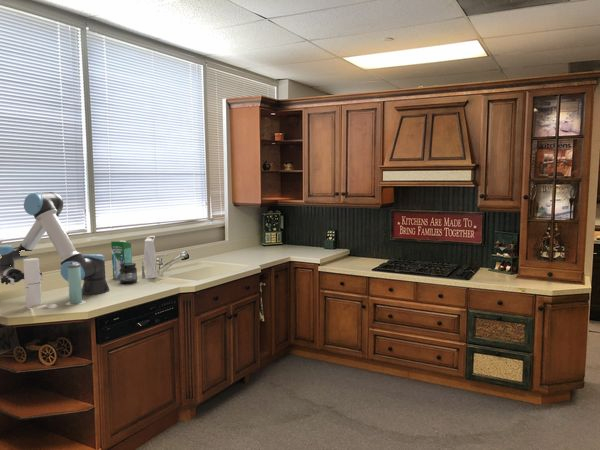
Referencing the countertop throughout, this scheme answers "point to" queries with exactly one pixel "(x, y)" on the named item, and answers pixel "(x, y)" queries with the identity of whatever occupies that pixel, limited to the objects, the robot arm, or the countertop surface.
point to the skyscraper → (149, 259)
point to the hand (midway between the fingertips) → (27, 279)
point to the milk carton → (120, 256)
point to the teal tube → (74, 283)
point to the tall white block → (32, 282)
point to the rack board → (56, 305)
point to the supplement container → (128, 273)
